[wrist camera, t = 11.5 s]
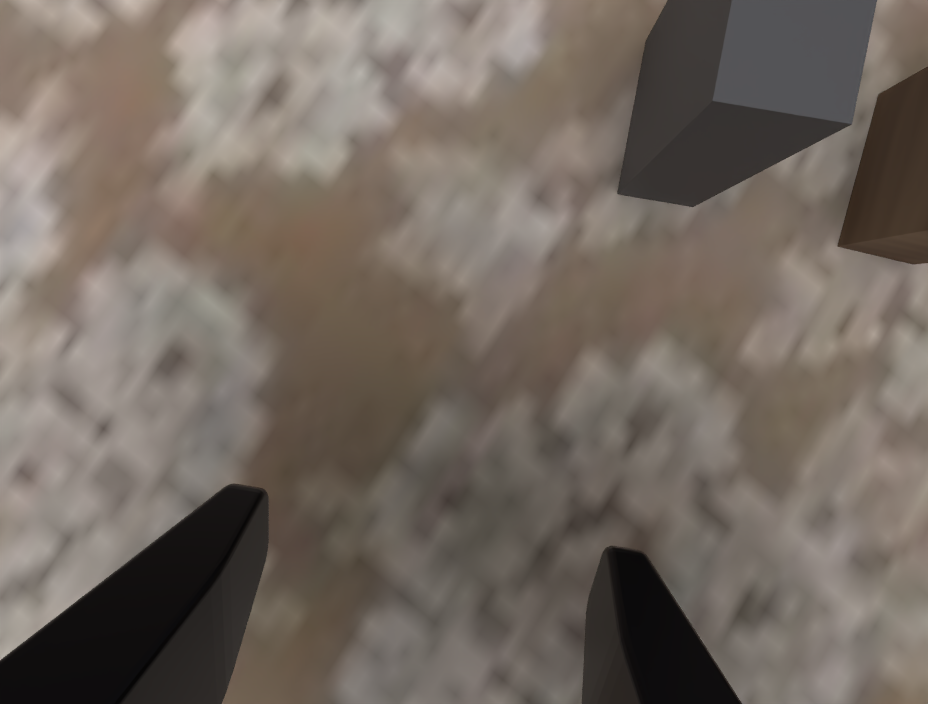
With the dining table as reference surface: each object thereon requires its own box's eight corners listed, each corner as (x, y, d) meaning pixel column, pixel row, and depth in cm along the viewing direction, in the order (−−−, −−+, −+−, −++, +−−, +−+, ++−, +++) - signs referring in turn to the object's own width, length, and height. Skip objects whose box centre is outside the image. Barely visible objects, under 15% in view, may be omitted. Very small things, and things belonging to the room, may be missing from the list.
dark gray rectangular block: (722, 53, 22) (909, -163, 12) (693, 206, 22) (852, 123, 12) (646, 40, 22) (766, -184, 12) (617, 194, 22) (712, 100, 12)
